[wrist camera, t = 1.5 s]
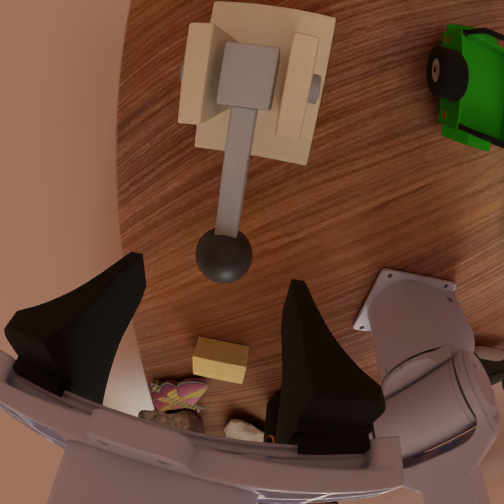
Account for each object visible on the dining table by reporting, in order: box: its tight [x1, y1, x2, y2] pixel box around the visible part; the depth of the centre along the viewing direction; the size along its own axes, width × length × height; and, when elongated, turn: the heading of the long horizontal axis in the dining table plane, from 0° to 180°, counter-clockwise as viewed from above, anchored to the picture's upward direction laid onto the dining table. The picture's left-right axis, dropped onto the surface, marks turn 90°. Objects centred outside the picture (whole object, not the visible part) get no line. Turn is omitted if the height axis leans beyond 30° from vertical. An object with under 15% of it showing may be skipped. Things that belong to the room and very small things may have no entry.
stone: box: [138, 410, 205, 434], centre depth 45 cm, size 13×17×15 cm
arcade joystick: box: [196, 42, 280, 283], centre depth 13 cm, size 12×3×3 cm, turn 172°
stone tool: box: [224, 419, 264, 442], centre depth 48 cm, size 13×28×5 cm, turn 14°
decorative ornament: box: [150, 378, 211, 413], centre depth 40 cm, size 17×2×10 cm
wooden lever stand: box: [178, 1, 336, 165], centre depth 13 cm, size 11×8×9 cm
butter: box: [193, 336, 250, 384], centre depth 32 cm, size 6×4×3 cm, turn 82°
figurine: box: [474, 346, 504, 389], centre depth 27 cm, size 7×10×15 cm
